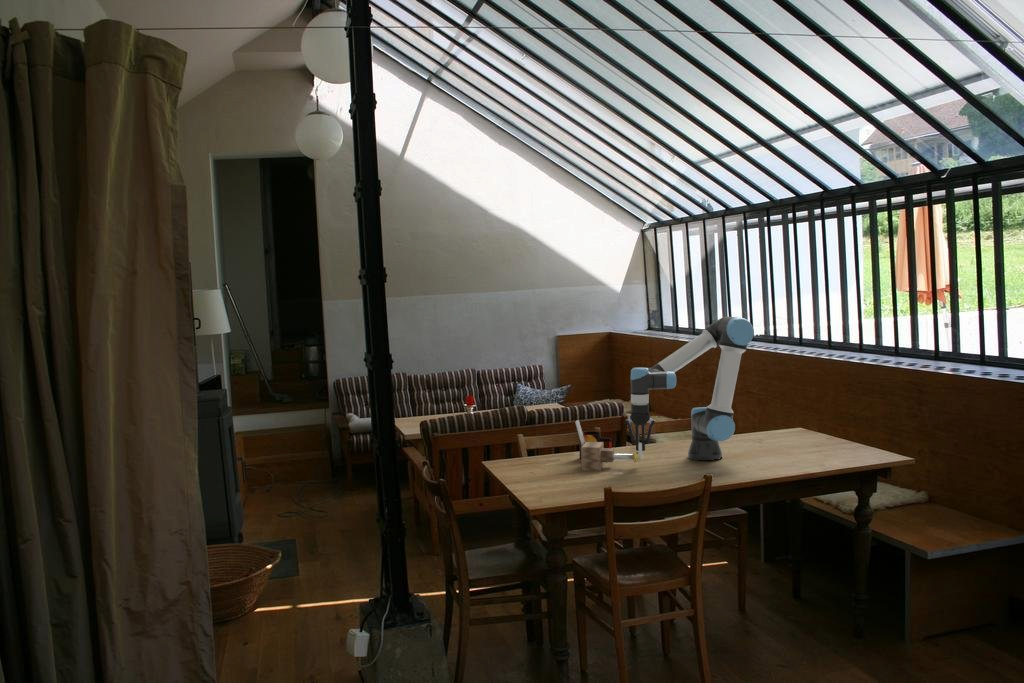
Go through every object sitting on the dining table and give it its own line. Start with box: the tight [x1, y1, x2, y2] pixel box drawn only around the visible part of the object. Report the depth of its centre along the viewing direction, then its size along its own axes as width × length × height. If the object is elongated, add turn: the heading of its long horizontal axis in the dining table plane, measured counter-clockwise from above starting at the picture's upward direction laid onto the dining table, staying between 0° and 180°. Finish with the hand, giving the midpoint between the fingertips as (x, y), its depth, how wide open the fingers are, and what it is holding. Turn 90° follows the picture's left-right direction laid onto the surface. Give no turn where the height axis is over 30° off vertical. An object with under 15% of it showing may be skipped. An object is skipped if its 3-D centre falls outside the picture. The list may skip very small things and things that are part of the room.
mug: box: [578, 430, 612, 461], centre depth 384 cm, size 10×14×12 cm
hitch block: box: [580, 441, 615, 472], centre depth 365 cm, size 14×12×11 cm
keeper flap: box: [574, 419, 585, 444], centre depth 367 cm, size 10×4×1 cm
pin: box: [613, 451, 640, 464], centre depth 363 cm, size 20×5×5 cm, turn 75°
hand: (640, 458), depth 361 cm, fingers closed
